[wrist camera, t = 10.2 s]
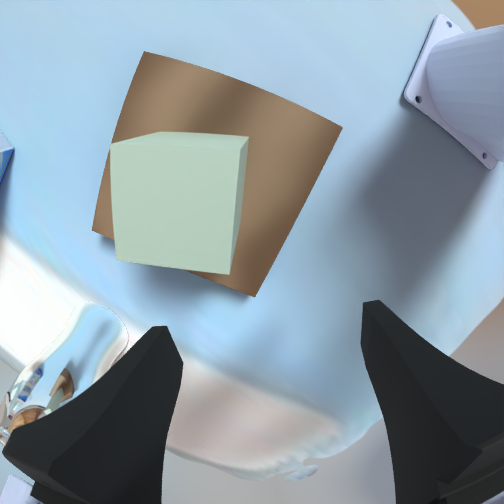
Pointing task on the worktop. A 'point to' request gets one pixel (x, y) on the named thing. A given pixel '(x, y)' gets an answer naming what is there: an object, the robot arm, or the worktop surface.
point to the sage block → (178, 199)
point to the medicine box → (4, 153)
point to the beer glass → (64, 366)
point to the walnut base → (258, 157)
